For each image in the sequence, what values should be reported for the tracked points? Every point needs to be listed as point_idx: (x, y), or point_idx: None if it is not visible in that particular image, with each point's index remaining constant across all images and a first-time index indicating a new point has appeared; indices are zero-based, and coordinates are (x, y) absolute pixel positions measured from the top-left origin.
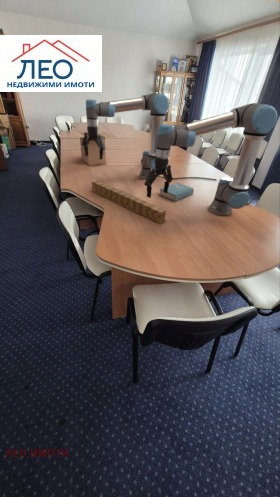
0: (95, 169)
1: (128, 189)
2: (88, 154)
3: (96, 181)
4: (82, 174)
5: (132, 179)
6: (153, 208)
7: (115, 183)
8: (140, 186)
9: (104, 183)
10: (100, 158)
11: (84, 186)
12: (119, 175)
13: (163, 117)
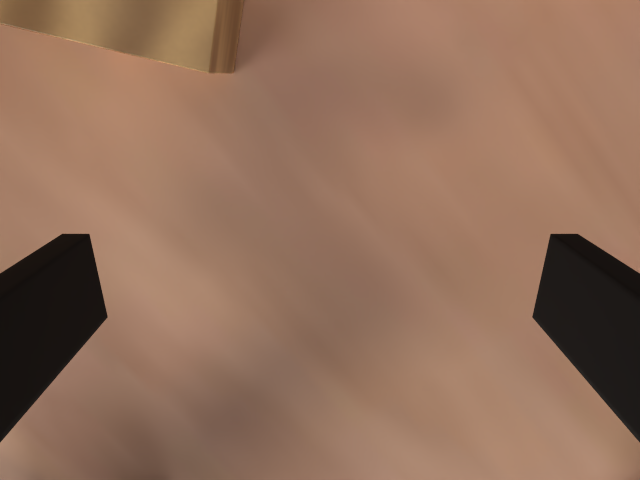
0: (570, 463)
1: None
2: (545, 330)
3: (176, 23)
4: None
5: (170, 458)
6: None
7: (213, 312)
8: None
9: (45, 33)
10: (44, 246)
11: (403, 56)
12: (312, 467)
13: None
